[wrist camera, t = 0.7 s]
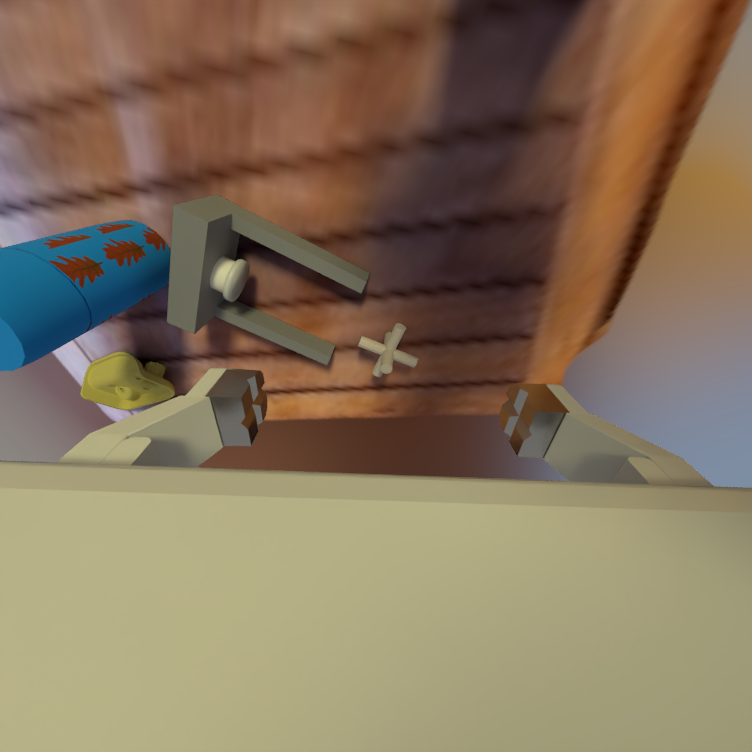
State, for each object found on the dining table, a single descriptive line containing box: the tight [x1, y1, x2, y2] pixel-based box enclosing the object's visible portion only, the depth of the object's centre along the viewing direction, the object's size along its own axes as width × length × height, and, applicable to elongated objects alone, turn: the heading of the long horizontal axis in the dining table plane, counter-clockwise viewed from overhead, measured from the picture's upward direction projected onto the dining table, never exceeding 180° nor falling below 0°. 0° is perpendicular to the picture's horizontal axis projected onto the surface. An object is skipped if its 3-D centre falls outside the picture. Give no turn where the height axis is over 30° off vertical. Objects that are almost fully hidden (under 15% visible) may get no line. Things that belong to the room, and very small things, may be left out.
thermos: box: [0, 220, 171, 371], centre depth 40 cm, size 11×11×25 cm
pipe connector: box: [358, 323, 418, 377], centre depth 50 cm, size 10×10×10 cm
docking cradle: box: [167, 195, 370, 365], centre depth 47 cm, size 17×24×10 cm
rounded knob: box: [210, 256, 249, 302], centre depth 45 cm, size 6×7×6 cm
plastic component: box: [81, 352, 175, 410], centre depth 64 cm, size 20×7×10 cm
